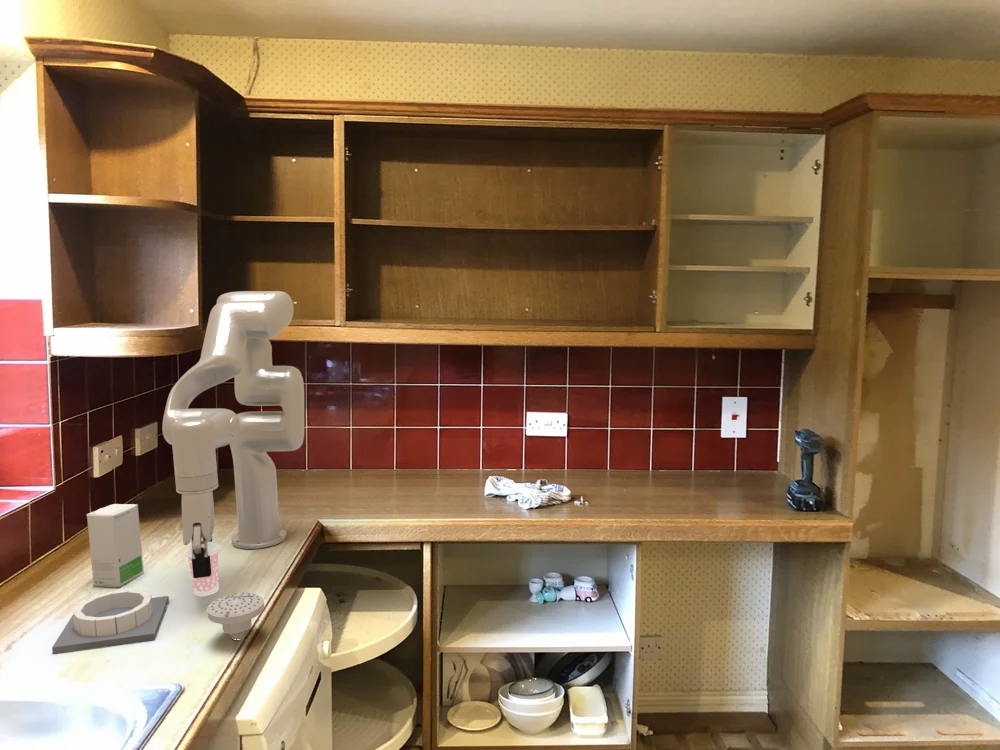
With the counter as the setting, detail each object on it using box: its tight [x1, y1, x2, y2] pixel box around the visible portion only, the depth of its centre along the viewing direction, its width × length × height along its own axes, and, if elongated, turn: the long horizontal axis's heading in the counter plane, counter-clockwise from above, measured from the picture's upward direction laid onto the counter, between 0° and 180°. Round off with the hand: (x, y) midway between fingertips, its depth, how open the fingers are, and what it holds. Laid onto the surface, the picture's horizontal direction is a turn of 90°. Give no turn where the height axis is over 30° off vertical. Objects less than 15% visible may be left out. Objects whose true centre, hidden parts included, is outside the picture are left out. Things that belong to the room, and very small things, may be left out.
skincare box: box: [86, 503, 145, 588], centre depth 153 cm, size 8×7×16 cm
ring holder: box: [51, 588, 170, 655], centre depth 133 cm, size 16×16×4 cm
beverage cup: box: [185, 527, 220, 597], centre depth 142 cm, size 6×6×14 cm
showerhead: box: [206, 592, 265, 640], centre depth 128 cm, size 9×7×10 cm
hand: (204, 568), depth 142 cm, fingers closed on beverage cup, 6 cm apart
